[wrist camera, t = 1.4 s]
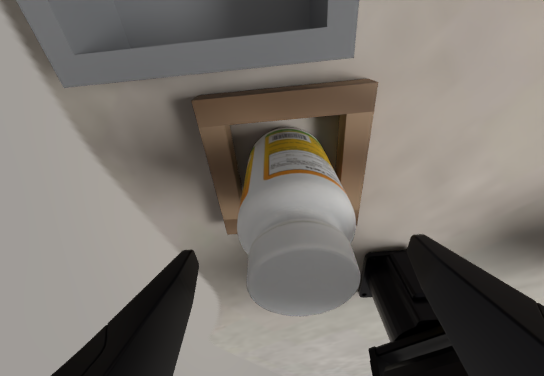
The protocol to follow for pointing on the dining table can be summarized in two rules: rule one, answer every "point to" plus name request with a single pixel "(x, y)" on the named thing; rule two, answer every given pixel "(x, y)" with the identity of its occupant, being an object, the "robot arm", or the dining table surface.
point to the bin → (186, 36)
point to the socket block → (282, 106)
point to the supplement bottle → (296, 227)
